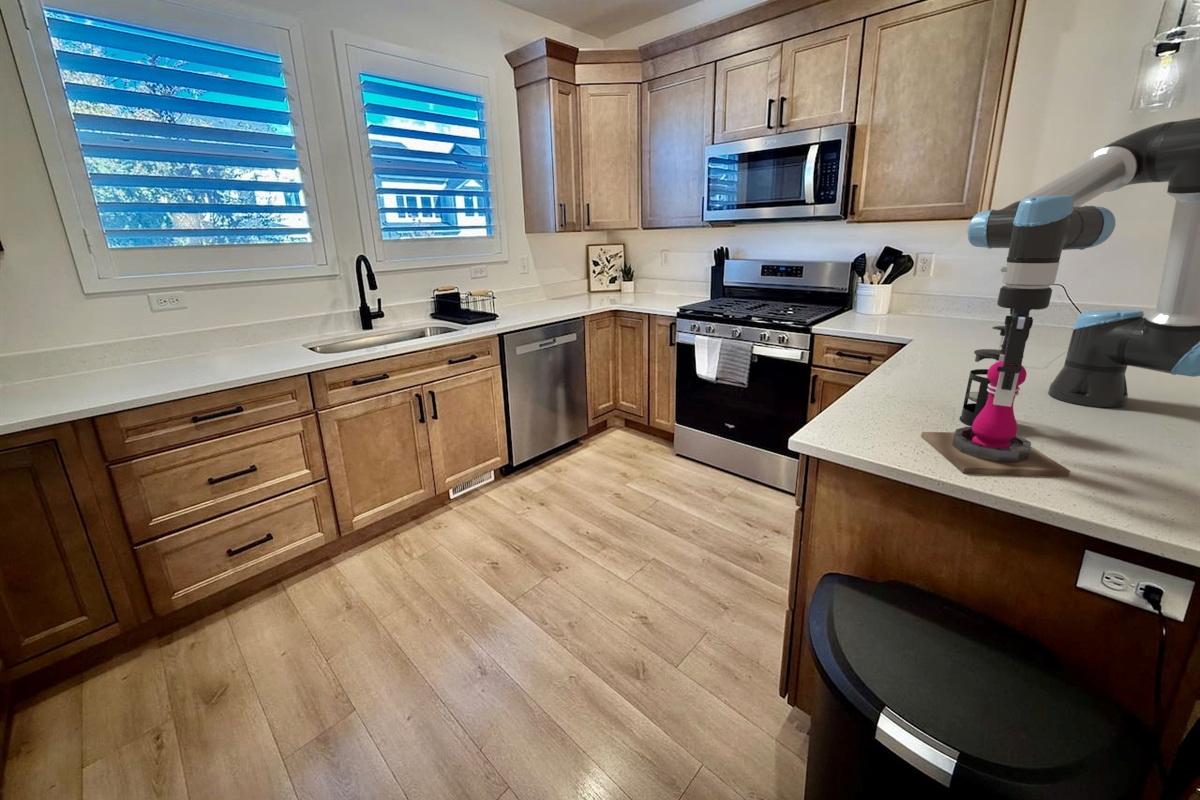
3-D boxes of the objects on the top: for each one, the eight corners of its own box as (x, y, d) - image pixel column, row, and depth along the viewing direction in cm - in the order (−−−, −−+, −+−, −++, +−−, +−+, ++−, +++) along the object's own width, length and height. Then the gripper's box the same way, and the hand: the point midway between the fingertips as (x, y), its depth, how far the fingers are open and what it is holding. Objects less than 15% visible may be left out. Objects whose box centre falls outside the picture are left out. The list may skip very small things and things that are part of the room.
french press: (997, 434, 115) (1021, 333, 107) (951, 422, 122) (970, 327, 114) (1017, 421, 121) (1040, 325, 114) (971, 411, 128) (990, 320, 121)
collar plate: (1009, 438, 112) (1010, 433, 112) (1068, 476, 95) (1070, 470, 95) (921, 436, 115) (922, 431, 114) (963, 473, 98) (964, 467, 97)
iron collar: (1004, 438, 109) (1007, 427, 109) (1043, 463, 98) (1046, 451, 97) (941, 436, 111) (943, 426, 110) (972, 461, 100) (974, 450, 99)
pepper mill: (959, 443, 108) (978, 350, 101) (991, 440, 108) (1013, 348, 102) (986, 457, 101) (1009, 359, 94) (1021, 455, 101) (1045, 357, 95)
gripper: (1000, 278, 106) (980, 376, 112) (1001, 293, 87) (976, 410, 94) (1048, 279, 101) (1023, 381, 108) (1059, 295, 82) (1029, 417, 89)
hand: (1001, 395), depth 101 cm, fingers open, 13 cm apart
